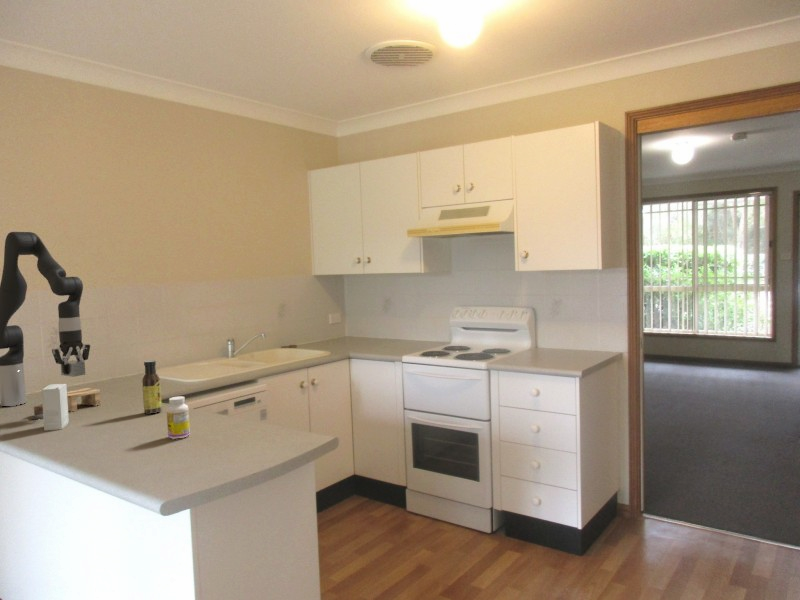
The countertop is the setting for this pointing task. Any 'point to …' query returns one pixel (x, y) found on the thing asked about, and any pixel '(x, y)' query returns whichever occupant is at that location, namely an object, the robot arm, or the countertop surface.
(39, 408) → the walnut block
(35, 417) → the rubber puck
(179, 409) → the supplement bottle
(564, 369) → the countertop surface
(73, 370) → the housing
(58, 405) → the skincare box
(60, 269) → the robot arm
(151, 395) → the sauce bottle
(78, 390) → the stand
